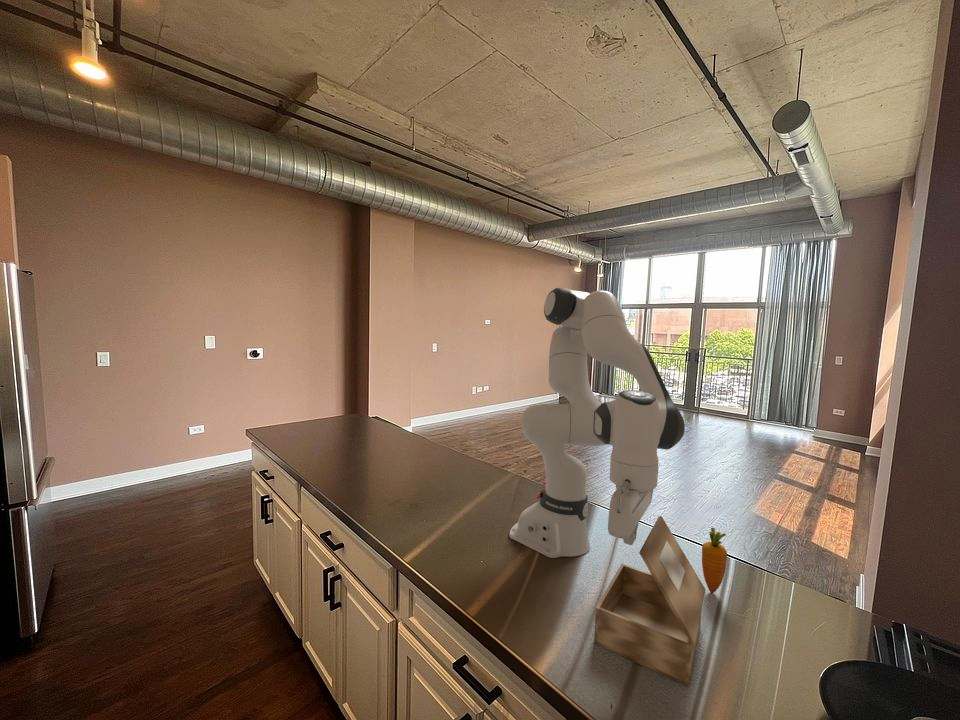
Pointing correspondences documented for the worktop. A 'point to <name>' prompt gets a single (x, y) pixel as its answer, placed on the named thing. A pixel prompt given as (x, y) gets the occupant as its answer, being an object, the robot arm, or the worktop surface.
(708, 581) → the carrot
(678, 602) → the lid
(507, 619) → the worktop surface
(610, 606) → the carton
